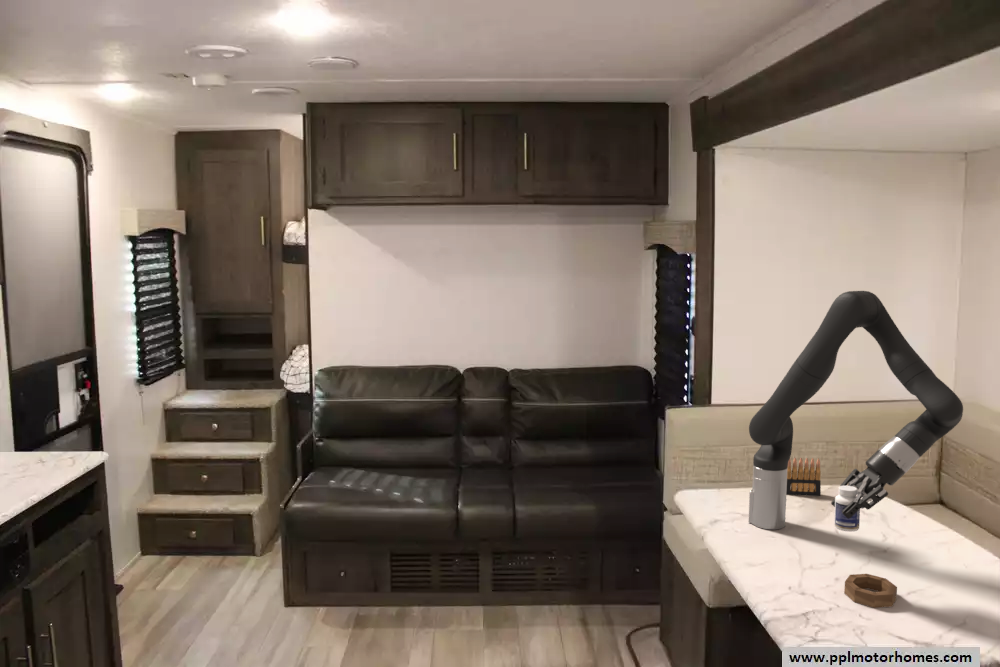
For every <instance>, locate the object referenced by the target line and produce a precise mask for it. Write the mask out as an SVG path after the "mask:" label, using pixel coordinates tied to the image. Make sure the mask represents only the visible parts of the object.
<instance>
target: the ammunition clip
mask: <svg viewBox="0 0 1000 667" xmlns="http://www.w3.org/2000/svg"><path fill="white" fill-rule="evenodd" d="M797 463H798V464H797ZM809 465H810V466H809ZM821 472H822V471H821V460H820V458H817V460H816V464H815V459H814V457H812V458H811V460H810V464H809V459H808V457H806V458H805V461H804V463H803V458H802V457H800V458H799V461H798V462H797V458H796V457H794V458H793V462H792V461H791V458H790V459H789V461H788V470H787V493H786V496H788V495H789V496H811V497H812V496H813V497H821V494H822V493H821V492H822V490H821V489H822V488H821V477H822V476H821V474H822V473H821Z"/></svg>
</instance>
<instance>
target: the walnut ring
mask: <svg viewBox="0 0 1000 667" xmlns="http://www.w3.org/2000/svg"><path fill="white" fill-rule="evenodd" d="M843 592H844V593H843V594H844V595H846V596H847V598H849V600H851V602H854V603H856V604H859V605H862V606H865V607H871V608H874V609H878V608H889V607H890V608H892V607H893V606H894V604H895V602H896V601H897V596H898V586H897V585H895V584H894V583H893V582H891V581H890V580H889V579H888V578H884V577H881V576H876V575H874V574H870V573H857V574H855V573H853V574H849V576H847V578H846V579H845V580H844V591H843Z"/></svg>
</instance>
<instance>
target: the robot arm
mask: <svg viewBox="0 0 1000 667" xmlns="http://www.w3.org/2000/svg"><path fill="white" fill-rule="evenodd" d="M858 328H863V329H864V330H865V331H866V332H867V333H868V334H870V336H872V338H874V340H875V342H876V343H877V344H878V346H879V348H880V349H881V351H882V354H883V357H884V360H885V361H886V364H887V366H888V368H889V370H890V371H891V373H892V374H893V375H894V376H895V377H896V379H897V380H898V381H899V382H900V383H901V385H902V386H903V387H904V388H905V390H906V391H908V392H909V393H910V394H911V395H912V396H915V397H916V398H917V400H918V401H919V402H920V403H921V405H923V407H924V408H925V410H924V411H923V412H922V413H921V414H920V415H919V416H918V417H917V418H916V419H915V420H912V421H910V422H908V423H906V425H904V426H903V427H902V428H901V429H900V430H899V431H898V432H897V433H896V434H894V436H892V437H891V438H890V439H888V440H887V441H886V442H885V443H884V444H883V445H882V446H880V447H879V448H878V450H876V451H875V452H874V453H873V454H872V455H871V456H870V457H869V458H868V459H867V460H866V461H865V465H866V466H867V468H866V469H864V470H862V471H859V470H858V469H857V468H854V469H853V470H852V471H851V472H850V473H849V475H847V477H846V478H845V479H844V480H843V482H841V484H840V485H839V486H853V487H855V488H857V495H856V498H855V499H854V502H853V501H852V502H851V503H850V504H849V505H848V506H847V507H846V508H845V509H844V510H843V511H842V514H843V515H844V516H846V517H847V518H848V519H849V518H851V517H852V516H853V515H854V514H855V513H856V512H857V511H858V510H859V509H860V510H861V509H862V510H863V509H866V510H870V509H872V508H873V507H874V506H875V505H877V504H878V503H880V502H881V501H882V500H883V499H885V498H886V497H887V496H888V495H889V492H888V491H887V490H886V489H885V486H886V485H888V486H893V485H894V484H896V482H898V481H899V480H900V479H901V478H902V477H903V476H904V475H905V474H906V473H908V472H909V471H910V469H912V467H913V466H915V464H916V463H917V462H918V460H919V459H920V458H921V457H922V456H923V455H924V454H925V453H927V452H928V450H930V448H931V447H932V446H934V444H935V443H936V442H937V441H939V440H940V439H941V438H943V437H944V436H946V435H947V434H948V433H949V432H951V431H952V430H953V429H954V428H956V426H958V424H959V423H960V422H961V420H962V418H963V413H964V405H963V402H962V401H961V400H962V399H960V398H959V396H958V395H957V394H956V393H955V391H953V390H952V389H951V388H950V387H949V386H948V385H947V384H946V383H945V382H943V381H942V380H941V379H940V378H939V377H938V376H937V375H936V374H935V373H934V372H933V370H932V369H931V367H930V366H929V365H928V364H927V363H926V362H925V361H924V360H923V359H922V357H920V355H919V354H918V353H917V352H916V351H915V349H914V348H913V346H912V345H910V343H909V342H908V341H907V339H906V338H905V336H904V335H903V334H902V332H901V330H900V329H899V327H898V326H897V325H896V323H895V322H894V320H893V319H892V316H890V314H889V312H888V310H887V309H886V307H885V306H884V304H883V302H882V301H881V300H880V298H879V297H878V295H876V294H875V293H873V292H871V291H867V290H851V291H845V292H843V293H841V294H839V295H838V296H837V297H836V298H835V299H834V301H833V302H832V304H831V305H830V307H829V308H828V310H827V312H826V315H825V316H824V318H823V319H822V322H821V324H820V325H819V327H818V329H817V330H816V332H815V334H814V335H813V336H812V338H810V339H809V342H808V343H807V345H806V346H805V347H804V349H803V350H802V351H801V352H800V354H799V355H798V357H797V358H796V359H795V361H794V362H793V364H792V365H791V366H790V368H789V369H788V371H787V372H786V374H785V376H784V377H783V379H782V380H781V381H780V383H779V384H778V386H777V387H776V389H775V390H774V392H773V393H772V395H771V396H770V397H769V399H767V400H766V402H765V403H764V404H763V405H762V406H761V408H759V410H758V411H757V412H756V413H755V414H754V415H753V416H752V418H751V420H750V422H749V426H748V433H749V437H750V438H751V439H752V441H753V442H755V443H756V444H757V445H760V447H759V448H758V450H757V451H756V452H755V453H754V456H753V461H752V462H753V463H752V466H753V467H752V489H751V490H750V491H749V498H748V499H749V505H748V524H752V525H753V526H755V527H758V528H760V529H764V530H781V529H783V528H785V526H786V518H787V517H786V516H787V515H786V510H787V495H786V493H787V470H788V461H789V459H790V460H791V456H792V451H793V450H792V449H793V439H794V424H793V421H792V418H791V416H792V415H793V413H794V412H795V411H796V410H798V409H799V408H800V407H801V406H803V405H804V404H805V403H807V402H808V401H809V400H810V399H812V397H814V395H816V394H817V393H818V392H819V391H820V389H821V388H822V387H823V386H824V384H826V382H827V380H828V379H829V378H830V376H831V374H832V373H833V372H834V369H835V366H836V362H837V358H838V357H837V356H838V353H839V350H840V348H841V346H842V345H843V343H844V342H845V341H846V340H847V338H848V337H849V336H850V335H851V334H852V332H854V331H855V330H856V329H858ZM831 505H832V507H834V508H835V498H833V499H832V501H831Z"/></svg>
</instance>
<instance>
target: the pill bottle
mask: <svg viewBox="0 0 1000 667" xmlns="http://www.w3.org/2000/svg"><path fill="white" fill-rule="evenodd" d="M856 496H857V488H855V487H853V486H848V485H846V486H840V485H839V486H838V494H837V495H836V496H835V497H834V499H835V507H834V520H833V521H834V527H835V529H837V530H840V531H842V532H857V531H859V530H860V520H861V519H860V516H861V514H860V512H861V509H859V510H858V511H857V512H856V513H855V514H854V515H853V516H852V517H851V518H849V519H848V518H847V517H846V516H844V515H843V514H842V511H843V510H844V509H845V508H846V507H847V506H848V505H849V504H850V503H851V502H852V501H853V502H854V499H855V498H856Z"/></svg>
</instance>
